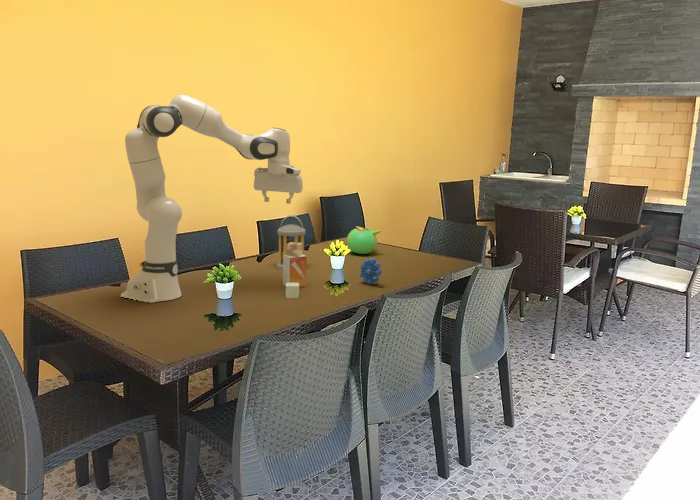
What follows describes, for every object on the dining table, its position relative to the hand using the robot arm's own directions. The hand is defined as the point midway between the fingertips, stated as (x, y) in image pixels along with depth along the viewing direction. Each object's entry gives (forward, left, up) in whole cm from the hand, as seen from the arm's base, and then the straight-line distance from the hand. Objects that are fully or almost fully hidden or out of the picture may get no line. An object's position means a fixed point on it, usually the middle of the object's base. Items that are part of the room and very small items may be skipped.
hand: (277, 202), depth 238 cm
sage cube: (+11, -16, -35) cm, 40 cm away
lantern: (-4, +31, -35) cm, 47 cm away
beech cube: (+7, 0, -22) cm, 23 cm away
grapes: (+38, +11, -35) cm, 53 cm away
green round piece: (+23, +72, -35) cm, 83 cm away
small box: (+7, 0, -35) cm, 36 cm away
